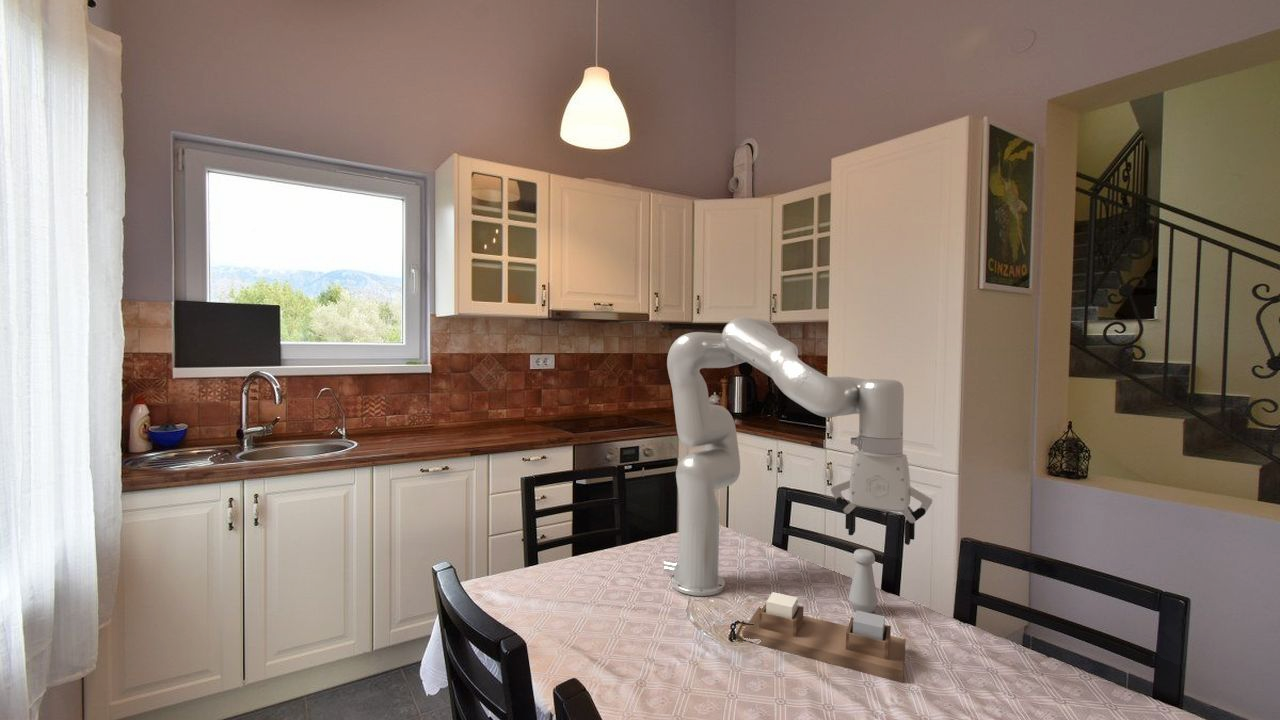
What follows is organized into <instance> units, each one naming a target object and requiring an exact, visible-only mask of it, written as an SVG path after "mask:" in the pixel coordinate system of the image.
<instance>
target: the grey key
mask: <svg viewBox="0 0 1280 720" xmlns="http://www.w3.org/2000/svg"><path fill="white" fill-rule="evenodd" d="M853 618H854V620H853V634H858V635H862V636H866V637H870V638H875V639H879V640H883V635H884V629H885V625H886V624H885V621H886V616H884V615H879V614H876V613H867V612H862V611H858V610H856V611H855V613H854V617H853Z"/></svg>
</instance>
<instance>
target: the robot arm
mask: <svg viewBox="0 0 1280 720" xmlns="http://www.w3.org/2000/svg"><path fill="white" fill-rule="evenodd" d="M798 356H799V349H798V347H797V345H796V344H795V343H793V342H792V341H789V340H788V339H786V338H784V337H783V336H780V335H779V332H778V330H777V328H776V327H775V325H773V323H771V322H770V321H768V320H767V319H763V318H753V317H736V318H734V319H732V320H730V321H729V322H728V323H727V324H726V325H725V326H724V328H723V330H722V332H721V333H720V332H705V331H694V332H693V331H692V332H689V333H685V334H682V335H680V336H679V337H677V339H675V340H674V342H673V343H672V344H671V346H670V348H669V350H668V354H667V359H666V367H667V372H668V378H669V380H670V381H669V382H670V385H671V391H672V400H673V401H672V402H673V410H674V415H675V417H674V418H675V425H676V432H677V436H678V438H679V441H680V442H681V443H682V444H683V445H685V446H687V447H690V448H691V447H693V448H694V447H701V446H705V450H703V451H702V450H701V451H697V452H692V453H689V454H687V455H685V456H684V457H683V458H682V459H681V460H679V462H678V464H677V466H676V469H675V478H676V480H675V481H676V485H677V491H678V502H679V503H678V506H679V509H678V515H679V516H678V518H679V519H678V557H677V558H678V561H676V562H675V561H672V560H668V559H664V561H663V571H664V572H666V573H670V574H671V573H672V574H673V575H672V577H671V585H672V588H673V589H675V590H676V591H677V592H680V593H682V594H685V595H689V596H695V597H697V596H698V597H707V596H714V595H717V594H719V593H722V591H724V590H725V586H726V583H725V579H724V578H722V577H721V576H720V575H719V559H720V557H719V555H720V553H719V551H720V550H719V549H720V517H721V516H720V513H721V512H720V506H719V503H718V500H717V497H716V494H715V491H717V490H720V489H724V488H727V487H729V486H732V485H733V484H735V483H736V482H737V481H738V479H739V477H740V474H741V460H740V459H741V458H740V457H741V456H740V450H739V444H738V443H739V442H738V435H737V429H736V423H735V420H734V418H733V416H732V414H731V413H730V411H729V410H728V409H727V408H726V407H724V406H721V405H718V404H711V403H710V399H709V391H708V386H707V382H706V381H705V379H704V377H703V375H702V374H701V372H700V370H701V369H721V368H722V369H724V368H729V367H733V366H736V365H740V364H743V363H747V364H750V366H752V367H754V368H755V369H757V370H759V371H760V372H761V373H763V374H765V375H767V376H768V377H770V378H771V379H772V380H773V382H774V384H775V385H776V386H777V387H778V389H779V390H780V391H781V392H782V393H783V395H785V396H787V398H788V399H790V400H791V401H792V402H795V403H796V404H798V405H799V406H801V407H803V408H804V409H806V410H807V411H809V412H810V413H813V414H814V415H817V416H820V417H823V418H836V417H841V416H843V417H845V416H850V415H859V416H858V418H859V419H858V425H859V426H858V435H857V436H855V437H851V438H850V445H854V446H856V448H857V450H856V451H854V452H853V456H852V460H851V467H850V474H849V475H850V476H849V477H850V478H849V480H847V481H844V482H842V483H839V484H837V485H833V486H832V487H831V488H830V491H831V493H832V495H833V497H834V498H835V502H836V504H837V505H839V507H840V508H841V509H842V511H843V513H844V514H845V525H844V526H845V530H848V531H847V534H848V536H853V535H854V534H855V533H856V519H857V517H856V516H857V515H856V511H855V508H856V507H858V508H859V507H860V508H865V509H872V510H879V511H886V512H887V511H888V512H894V513H901V514H902V515H903V516H904V518H905V522H904V545H908V546H910V544H911V540H912V541H913V540H915V535H916V533H915V531H916V530H915V528H916V527H915V525H916V522H917V521H918V520H919V519H921V518H922V517H923V516H924V515H925V514H926V513H927V512H928V510H929V509H930V507H931V505H932V503H933V499H932V498H931V497H929V496H928V495H926V494H924V493H923V492H921V491H919V490H917V489H916V488H914V487H912V486H911V477H910V476H911V475H910V469H909V468H910V467H909V461H908V457H907V455H906V454H904V453H903V452H904V451H903V450H904V449H903V448H904V399H905V398H904V393H905V392H904V391H905V389H904V386H903V383H902V382H901V381H899V380H896V379H895V380H894V379H884V378H883V379H882V378H881V379H878V378H874V379H873V378H872V379H864V378H859V377H854V376H827V375H825V374H823V373H822V372H820V371H818V370H817V369H815V368H813V367H811V366H810V365H808V364H806V363H805V362H803V361H802V360H801V358H799V357H798ZM846 490H849V491H848V499H849V502H848V501H847V500H846V499H845V497H844V496H843V494H842V491H846ZM911 497H913V499H915V500H917V501H919V502H920V503H921V505H920V506H919V507H918V508H917V509H916V510H913V509H912V507H911V506H910V504H911V503H910V502H911Z"/></svg>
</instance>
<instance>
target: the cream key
mask: <svg viewBox="0 0 1280 720" xmlns="http://www.w3.org/2000/svg"><path fill="white" fill-rule="evenodd" d="M798 598H799V597H797V596H792V595H789V594H788V595H787V594H783V593H779V592H778V593H777V592H774V591H773V592H771V594H770V595H769V597H768V599H767V600H766V601H765V602H766V603H765V604H766V613H768V614H773V615H777V616H781V617H785V618H790V619H792V618H793V617H794V615H795V613H796V611H797V605H799V604H798V602H799V599H798Z"/></svg>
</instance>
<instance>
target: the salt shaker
mask: <svg viewBox="0 0 1280 720" xmlns="http://www.w3.org/2000/svg"><path fill="white" fill-rule="evenodd" d="M852 556H853V560H854V562H856V563H855V568H854V574H853V576H852V581H851V585H850V590H849V595H848V600H849V603H850V605H851V608H852V611H854V612H856V610H858V611H862V612H867V613H871V614H873V613H874V611H875V610H876V607H877V605H878V601H879V600H878V594H877V589H876V588H877V587H876V584H875V583H876V582H875V578H874V577H875V575H874V571H873V564H874V563H875V561H876V557H875V554H874V553H873V551H871V550H869V549H865V548H859V549H856V550H854V552H853V555H852ZM872 612H873V613H872Z"/></svg>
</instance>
